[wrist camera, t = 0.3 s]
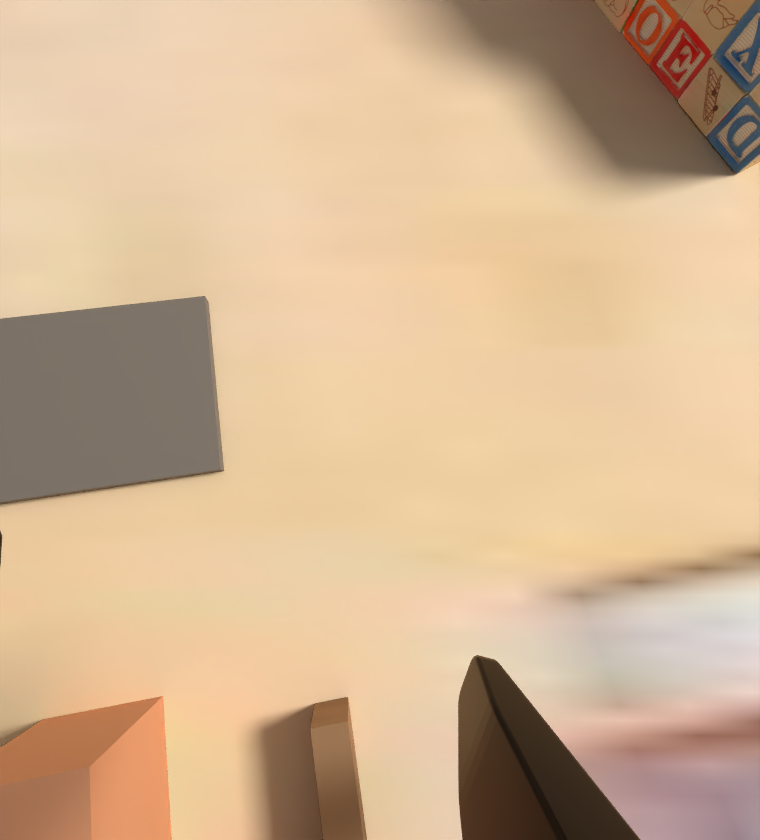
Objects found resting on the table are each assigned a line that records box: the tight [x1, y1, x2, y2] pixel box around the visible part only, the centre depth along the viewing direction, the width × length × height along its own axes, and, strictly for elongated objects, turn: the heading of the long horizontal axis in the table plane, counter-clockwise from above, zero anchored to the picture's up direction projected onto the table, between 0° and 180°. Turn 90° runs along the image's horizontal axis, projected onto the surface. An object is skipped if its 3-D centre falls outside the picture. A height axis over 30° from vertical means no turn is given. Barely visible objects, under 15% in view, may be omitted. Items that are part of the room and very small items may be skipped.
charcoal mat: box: [0, 296, 224, 504], centre depth 22 cm, size 9×12×1 cm
